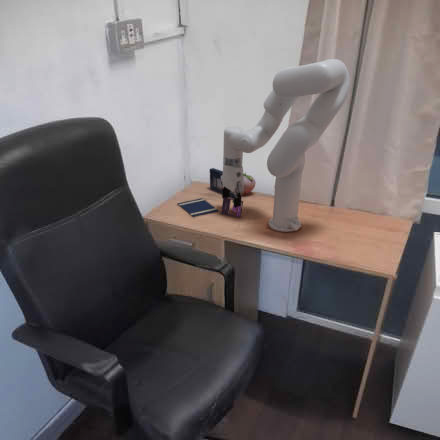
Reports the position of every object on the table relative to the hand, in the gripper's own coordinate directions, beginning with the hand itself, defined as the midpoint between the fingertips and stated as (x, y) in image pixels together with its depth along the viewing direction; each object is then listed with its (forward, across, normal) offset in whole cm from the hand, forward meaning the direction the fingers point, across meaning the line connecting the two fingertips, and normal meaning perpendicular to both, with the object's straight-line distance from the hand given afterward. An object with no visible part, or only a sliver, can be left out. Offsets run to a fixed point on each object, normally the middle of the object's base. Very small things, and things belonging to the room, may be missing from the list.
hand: (231, 202), depth 173 cm
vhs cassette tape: (+6, +21, -8) cm, 23 cm away
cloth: (+6, +13, +10) cm, 17 cm away
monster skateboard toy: (+5, -1, 0) cm, 5 cm away
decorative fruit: (+5, +16, -16) cm, 24 cm away
